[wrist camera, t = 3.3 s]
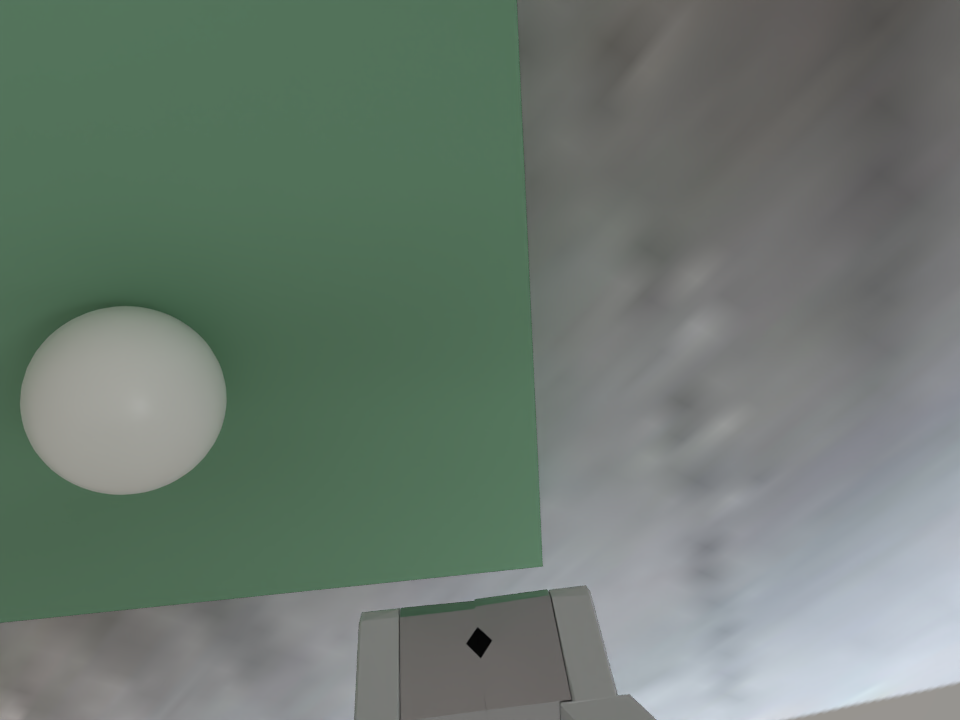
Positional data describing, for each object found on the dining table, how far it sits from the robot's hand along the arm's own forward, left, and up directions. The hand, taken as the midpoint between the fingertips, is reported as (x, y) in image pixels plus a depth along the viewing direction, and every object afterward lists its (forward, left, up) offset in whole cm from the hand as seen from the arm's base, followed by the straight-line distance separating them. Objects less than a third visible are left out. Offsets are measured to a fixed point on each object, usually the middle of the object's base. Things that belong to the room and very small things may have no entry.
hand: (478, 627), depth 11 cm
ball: (+6, 0, -6) cm, 9 cm away
